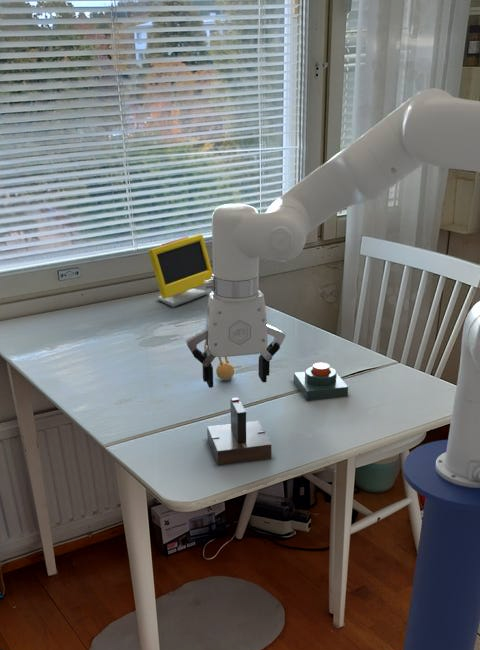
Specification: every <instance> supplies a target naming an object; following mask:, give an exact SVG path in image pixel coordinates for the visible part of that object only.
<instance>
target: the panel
mask: <svg viewBox="0 0 480 650" xmlns="http://www.w3.org/2000/svg"><path fill="white" fill-rule="evenodd" d="M206 435H207V436H206V437H207V442H208V444H209V447H210V449H211V452H212V454H213V457H214V459H215V461H216V464H217V466H227V465H232V464H233V465H234V464H241V463H249V462H258V461H265V460H266V461H267V460H272V443H271V441H270V440H269V437H268V436H267V434H266V431H265V430H264V429H263V427H262V425H261V423H260V421H259V420H251V421H246V442H240V443H238V442H237V440H236V437H235V435H234V433H233V431H232V429H231V423H226V424H224V423H223V424H215V425H208V426H206Z"/></svg>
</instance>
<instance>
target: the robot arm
mask: <svg viewBox="0 0 480 650" xmlns="http://www.w3.org/2000/svg"><path fill="white" fill-rule="evenodd" d="M424 164H425V165H428V166H434V167H439V168H445V169H451V170H460V171H469V172H477V173H480V100H473V99H466V98H460V97H456V96H453V95H451V94H450V93H449V92H447V91H446V90H444V89H440V88H436V87H432V88H426V89H422V90H421V91H419V92H417V93H416V94H414V95H413V96H411V97H410V98H408V99H407V100H406V101H404V102H403V103H402V104H401V105H400V106H398V107H397V108H396V109H394V110H393V111H392V112H390V113H389V114H388V115H386V116H385V117H383V119H382V120H380V121H379V122H378V123H376V124H374V126H372V127H371V128H370V129H369V130H367V131H366V132H365V133H363V134H362V135H360V136H359V137H358V138H357V139H355V140H354V141H352V143H350V144H348V145H347V146H346V147H344V149H342V150H341V151H339V152H338V153H336V154H335V155H333V156H332V157H331V158H330V159H329V160H328V161H326V162H324V163H323V164H322V165H320V166H318V167H317V168H316V169H315V170H313V171H311V172H310V173H309V174H308V175H307V176H304V178H302V179H301V180H299V181H298V182H297V183H295V185H293V186H292V187H291V188H289V189H287V190H286V192H284V193H283V194H282V195H280V196H279V197H278V198H276V199H275V200H274V201H273V202H272V203H271V204H270V205H269V207H268V208H267V209H266V211H265V212H259V211H258V209H257V208H255V207H254V206H252V205H249V204H244V203H227V204H222V205H219V206H217V207H216V208H215V209H214V210H213V212H212V214H211V239H212V240H211V242H212V243H211V244H212V247H211V248H212V272H213V274H212V278H211V279H210V280H209V281H204V285H203V286H204V289H205V290H211V292H210V293H209V296H208V301H207V308H206V318H205V319H206V320H205V321H206V322H205V327H204V328H203V329H202V330H200V331H199V332H196V333H195V334H194V335H191V336H190V337H189V338H187V339H185V344H186V346H187V348H188V349H189V351H190V353H191V354H192V355H193V357H194V358H195V359H196V360H197V361H198V362H199V363H201V364H202V380H203V382H204V383H206V384H207V386H208V388H211V389H212V388H213V387H214V367H213V364H212V362H213V361H214V360H215V359H216V358H219V357H221V358H225V357H227V358H228V357H230V358H231V357H241V356H249V355H259V356H258V373H257V374H258V378H259V380H260V381H261V383H264V384H265V383H267V382H268V381H267V379H268V377H269V376H270V366H271V365H270V362H271V360H272V359H273V356H275V354H277V352H278V351H279V350H280V349H281V345H282V344H283V342H284V340H285V339H286V334H285V332H284V330H281V329H279V328H276V327H274V326H272V325H270V324H268V319H267V308H266V307H267V306H266V300H265V295H264V293H263V292H262V291H261V290H260V289H259V286H260V285H259V283H260V281H259V280H260V278H259V277H260V276H259V275H260V274H259V273H260V259H264V260H268V261H273V262H288V261H291V260H294V259H295V258H297V257H298V256H299V255H300V254H301V253H302V251H303V250H304V247H305V245H306V242H307V237H308V235H309V234H310V233H311V232H312V231H314V230H316V228H318V227H319V226H321V225H322V224H324V223H325V222H326V221H327V220H329V219H331V218H332V217H333V216H334V215H336V214H338V213H340V212H341V211H343V210H345V209H348V208H350V207H352V206H355V205H362V204H366V203H370V202H373V201H374V200H376V199H377V198H379V197H380V196H382V195H383V194H385V193H386V192H388V191H389V190H390V189H391V188H392V187H394V186H395V185H397V184H398V183H399V182H400V181H402V180H403V179H405V178H406V177H408V176H409V175H410V174H412V173H413V172H414V171H416V170H417V169H419V168H420V167H422V166H424ZM462 327H463V328H462V336H461V346H460V347H461V348H460V358H459V359H460V360H459V368H458V375H457V381H456V388H455V392H454V399H453V406H452V413H451V419H450V425H449V432H448V437H447V440H448V444H447V450H446V452H445V453H443V454H441V455H440V456H439V457H438V458H437V460H436V465H435V468H436V471H437V473H438V474H439V475H440V476H441V477H442V478H444V479H445V480H447V481H449V482H451V483H453V484H456V485H459V486H464V487H470V488H480V300H479V301H477V302H476V303H475V304H474V305H473V306H472V307H471V309H470V310H469V311H468V313H467V315H466V317H465V319H464V323H463V326H462ZM268 336H272V337H274V338H273V340H272V341H271V342H270V343H269V344H268V342H269V341H268V340H269V339H268V338H269V337H268ZM205 339H206V346H207V348H206V350H204V351H203V352H202V351H201V350H200V349H199V348H198V347H197V346H198V344H201V343H202V342H204V341H205Z"/></svg>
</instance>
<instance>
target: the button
mask: <svg viewBox="0 0 480 650" xmlns="http://www.w3.org/2000/svg"><path fill="white" fill-rule="evenodd" d="M312 366H313V371H312V373H313V374H314V375H318V376H325V375H328V374H329V371H330V367H331V365H330V364H329V363H326V362H315V363H313V364H312Z"/></svg>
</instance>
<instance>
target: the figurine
mask: <svg viewBox="0 0 480 650" xmlns="http://www.w3.org/2000/svg"><path fill="white" fill-rule="evenodd" d="M207 347H208V346H207V344H206V339H205V340H204V346H203V349H204V351H205V350H206V348H207ZM224 360H225V361H223V359H222V357H218V361H219V364H218V365H217V367H216V370H215V371H216V372H215V373H216V376H217V378H218V379H220V380H222V381H229V380H231V379H232V378H233V377H234V375H235V368H234V365H233V364H232V363H231V362H230V361H229V360H228V357H224Z"/></svg>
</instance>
